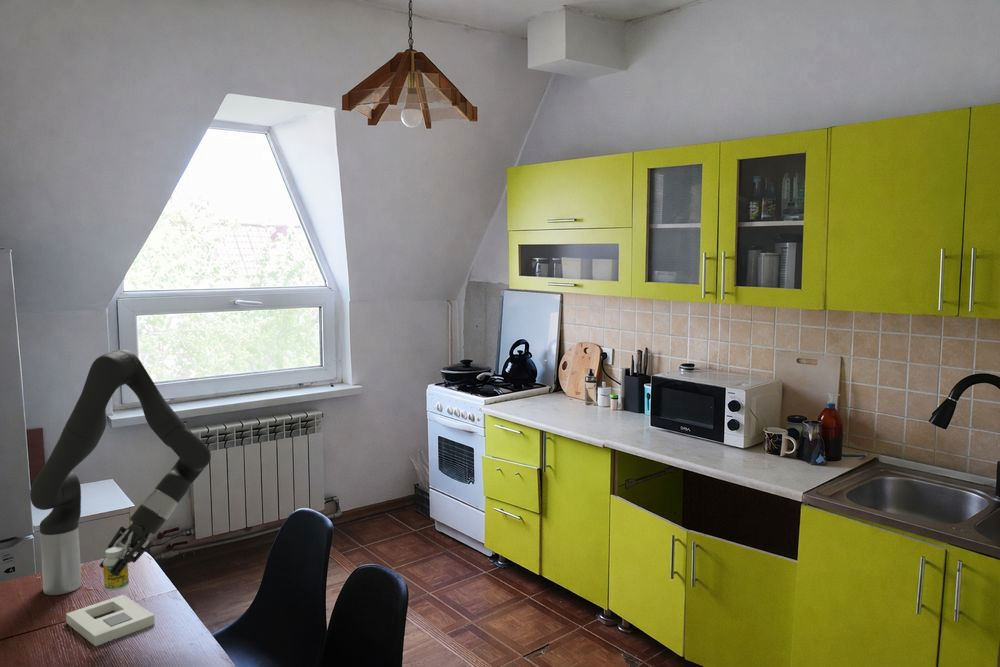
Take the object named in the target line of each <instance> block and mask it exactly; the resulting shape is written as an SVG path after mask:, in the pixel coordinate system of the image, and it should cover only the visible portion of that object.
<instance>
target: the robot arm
mask: <svg viewBox="0 0 1000 667" xmlns="http://www.w3.org/2000/svg"><path fill="white" fill-rule="evenodd" d="M124 385H126V386H127V387H129V389H130V390H131V391H133V393H134V394H135V395H136V397H137V399H138V400H139V402H140V404H141V405H140V406H141V409H142V412H143V415H144V417H145V420H146V422H147V424H148V426H149V427H150V428H151V431H153V432H154V434H155V435H156V436H157V437H158V438H159V439H160V440H161V442H162V443H163V444H164V445H165V446H166V447H169V448H170V449H172V451H173V452H174V453H175V454H176V455H177V457H179V459H178V460H177V461H176V463H175V464H174V465H173V466H172V468H171V469H170V471H169V472H168V473H166V474H165V475H164V476H163V477H162V479H161V480H160V481H159V482H158V484H157V485H156V486H155V487H154V489H153V490H152V491H151V492H150V493H149V494H148V495H147V496H146V497H145V498H144V500H143V501H142V503H141V504H140V505H139V506H138V508H137V509H136V510H135V511H134V513H133V514H132V515H131V516H130V518H129V520H130V522H132V523H131V525H129V526H128V527H127V528H125V527H124V526H120V527H119V529H118V530H117V532H116V533H115V535H114V536H113V538H112V539H111V541H110V542H109V543H108V545H107V549H110V548H113V547H123V549H124V552H123V554H122V556H121V559H120V558H119V560H118V561H117V562H116V563H115V565H114V566H113V567H112V569H111V570H110V573H111V574H113V575H115V576H118V575H119V574H120V572H121V571H122V570H123V568H124V567H125V566H126V565H127V563H128V564H130V563H136V562H137V561H138V560H139V558H141V557H142V556H143V554H144V553H145V552H146V551H147V550H148V549H149V548H150V547H151V545H152V541H150V540H149V539H148V538H149V536H150V534H151V535H156V534H157V533H158V532H159V530H160V529H161V528H162V527H163V525H164V524H165V523H166V521H167V520H168V519H169V518H170V516H171V515H172V514H173V512H174V511H175V509H176V508H177V506H178V504H179V503H180V502H181V500H182V499H183V498H184V496H185V495H186V493H187V492H188V490H189V489H190V487H191V485H192V484H193V483H194V482H195V480H197V478H198V477H199V476H200V474H201V473H203V471H204V470H205V469H206V467H208V465H209V463H210V462H211V460H212V454H211V450H210V449H209V447H208V446H207V444H205V442H203V441H202V440H201V439H200V438H199V437H198V436H197V435H196V434H195V433H194V432H192V431H191V430H190V429H189V427H188V426H187V425H186V424H185V422H184V421H183V420H182V418H180V417H179V415H178V414H177V413H176V412H175V411H174V410H173V409H172V407H171V406H170V404H169V403H168V402H167V401H166V399H165V398H164V396H162V394H161V392H160V391H159V389H158V388H157V385H156V383H155V382H154V381H153V379H152V377H151V376H150V375H149V372H148V371H147V370H146V368H145V366H144V365H143V363H142V361H141V360H140V358H138V356H137V354H135V353H134V352H132V351H130V350H129V349H124V348H122V349H116V350H113V351H111V352H106V353H105V354H101V355H100V356H98V357H97V358H95V360H94V361H93V362H92V364H91V365H90V368H89V371H88V374H87V376H86V379H85V382H84V385H83V387H82V388H83V389H82V391H81V394H80V395H79V398H78V400H77V402H76V404H75V406H74V408H73V410H72V412H71V414H70V415H69V418H68V419H67V421H66V423H65V425H64V428H63V429H62V432H61V434H60V436H59V438H58V440H57V442H56V444H55V446H54V447H53V449H52V451H51V454H50V455H49V457H48V459H47V461H46V462H45V464H44V465H43V467H42V468H41V470H40V471H39V473H38V474H37V476H36V477H35V478H34V481H33V482H32V485H31V488H30V491H29V492H30V493H29V498H30V502H31V505H32V506H33V507H34V508H35V509H38V510H41V511H45V510H46V511H47V510H51V511H50V513H48V514H47V516H46V517H44V518H43V519H42V520H41V521H40V523H39V535H40V536H39V537H40V553H41V573H42V574H41V575H42V590H43V591H42V592H43V593H44V595H48V596H59V595H65V594H68V593H71V592H74V591H76V590H78V589H79V588H80V587H81V586H82V571H81V570H82V569H81V551H80V550H81V549H80V532H79V531H80V530H79V529H80V528H79V521H80V518H81V513H82V505H81V504H82V488H81V487H82V486H81V482H80V480H79V477H78V475H77V474H76V473H75V472H73V471H74V470H75V468H76V467H77V466H78V465H80V464H81V463H82V462H83V461H84V460H85V459H86V458H87V457H88V456H89V455H90V454H91V453H92V452H93V451H94V450H95V449H96V447H97V446H98V444H99V442H100V440H101V438H102V436H103V434H104V433H105V430H106V428H107V427H106V426H107V413H106V412H107V410H106V409H107V406H108V405H109V402H110V400H111V399H112V397H113V395H114V393H115V392H116V390H117V389H118V388H120V387H121V386H124ZM106 558H107V557H106V556H105V557H104V558H103V560H102V561H101V562H100V563H99V567H100V568H102V569H103V561H104V560H105V559H106Z"/></svg>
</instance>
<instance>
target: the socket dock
mask: <svg viewBox="0 0 1000 667" xmlns="http://www.w3.org/2000/svg"><path fill="white" fill-rule="evenodd" d="M110 612H112V613H110ZM107 613H110V614H107ZM105 614H106V615H105ZM102 615H104V616H102ZM99 616H101V617H99ZM65 617H66V624H67V625H68V626H70V628H73V630H75V632H77V633H78V634H80V635H81V636H82V637H83V638H85V639H86V640H87V641H88V642H89V643H91V644H92V645H93V646H94V647H97V646H101V645H103V644H106V643H109V642H111V641H114V640H116V639H119V638H123V637H124V636H127V635H130V634H132V633H135V632H138V631H140V630H143V629H146V628H148V627H151V626H154V625H155V624H156V623H155V613H152V612H150V610H147V609H146V608H145V607H143V606H141V605H140V604H139V603H137V602H135V601H134V600H132V599H131V598H129V597H128V596H126V595H125V594H120V595H118V596H115V597H112V598H109V599H106V600H103V601H100V602H97V603H94V604H90V605H88V606H85V607H82V608H79V609H78V608H77V609H75V610H73V611H69V612H67V613H65ZM95 617H98V618H95ZM113 639H114V640H113ZM108 641H109V642H108Z"/></svg>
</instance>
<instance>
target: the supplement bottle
mask: <svg viewBox="0 0 1000 667" xmlns="http://www.w3.org/2000/svg"><path fill="white" fill-rule="evenodd" d="M123 552H124V549H123V547H113V548H110V549H109V548H107V549H106V550H105V552H104V554H105V557H107V558H106V559H105V558H104V559H105V560H104V559H103V560H104V561H103V560H102V561H103V568H102V569H103V581H104V584H103V585H104V589H105V590H106V591H108V592H115V591H120V590H123V589H126V588H127V587H128V586H129V585H130V582H129V581H130V580H129V579H130V577H129V567H128V565H129V563H127V565H126V566H125V567H124V568H123V570H122V571H121V572H120V574H119V575H118V576H115V575H113V574H111V573H110V570H111V569H112V567H113V566H114V565H115V563H116V562H117V561H118V560H119V558H120V559H121V556H122V554H123Z"/></svg>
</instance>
